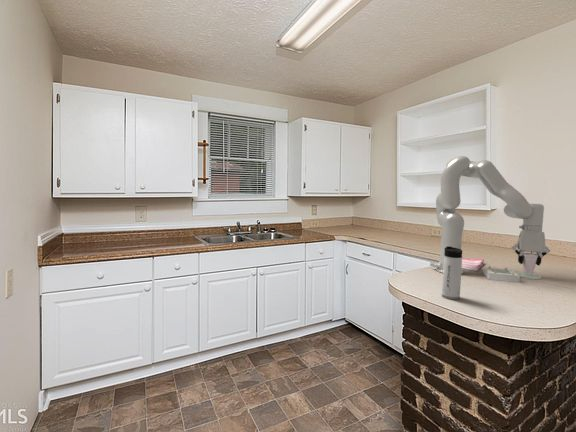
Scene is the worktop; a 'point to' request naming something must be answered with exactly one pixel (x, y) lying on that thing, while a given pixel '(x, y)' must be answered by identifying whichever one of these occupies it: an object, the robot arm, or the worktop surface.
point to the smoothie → (529, 262)
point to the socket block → (500, 274)
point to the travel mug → (452, 273)
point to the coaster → (529, 276)
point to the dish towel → (472, 264)
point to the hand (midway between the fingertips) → (529, 263)
